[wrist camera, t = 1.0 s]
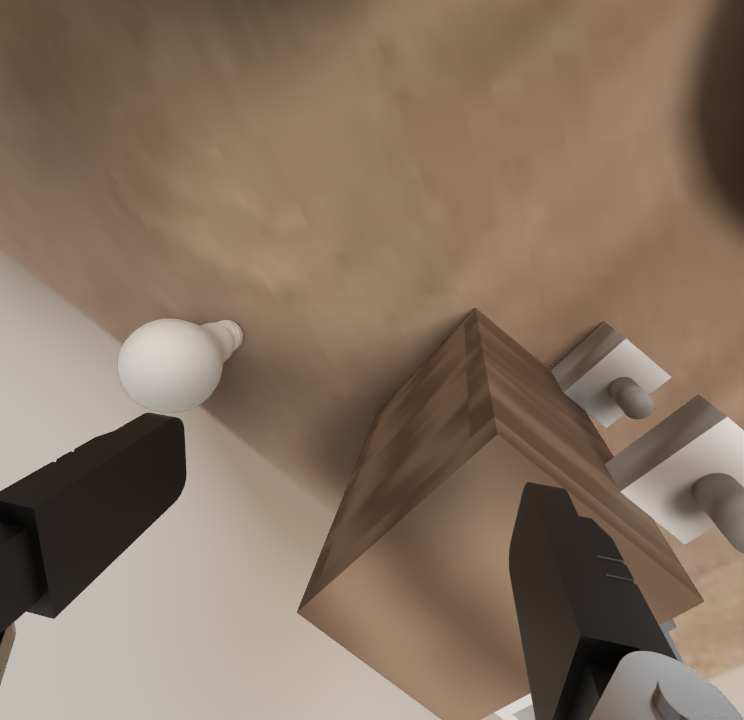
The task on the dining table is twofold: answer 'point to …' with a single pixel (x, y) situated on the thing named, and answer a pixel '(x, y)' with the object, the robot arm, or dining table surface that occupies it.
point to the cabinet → (509, 506)
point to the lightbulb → (176, 362)
